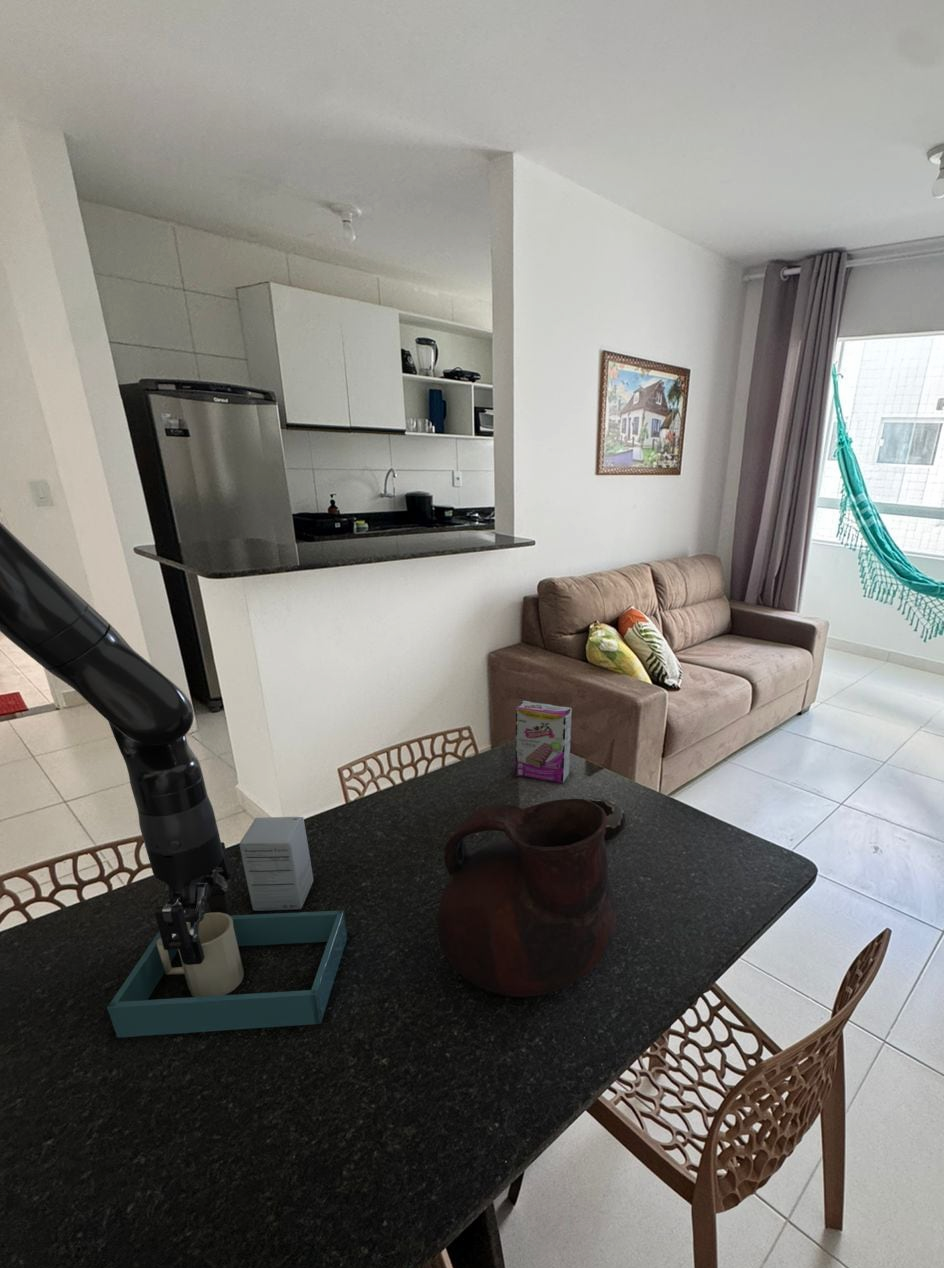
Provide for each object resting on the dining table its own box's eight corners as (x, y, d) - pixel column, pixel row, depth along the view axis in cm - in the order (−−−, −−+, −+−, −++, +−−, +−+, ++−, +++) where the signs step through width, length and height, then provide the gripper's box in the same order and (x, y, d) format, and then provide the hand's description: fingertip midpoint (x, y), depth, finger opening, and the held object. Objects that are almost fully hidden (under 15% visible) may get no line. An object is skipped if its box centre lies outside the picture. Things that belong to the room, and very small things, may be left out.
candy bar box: (514, 777, 144) (514, 708, 138) (522, 766, 149) (522, 699, 142) (563, 785, 142) (565, 715, 135) (570, 774, 147) (572, 706, 140)
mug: (250, 962, 92) (239, 911, 88) (233, 998, 86) (221, 945, 83) (179, 966, 91) (165, 914, 87) (157, 1003, 85) (141, 949, 81)
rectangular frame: (117, 1037, 80) (106, 1007, 78) (175, 945, 94) (167, 918, 92) (320, 1024, 83) (316, 994, 81) (347, 937, 98) (344, 910, 96)
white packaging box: (267, 882, 108) (255, 816, 103) (315, 880, 109) (305, 815, 104) (251, 912, 101) (237, 843, 96) (301, 910, 102) (290, 842, 97)
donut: (554, 818, 130) (554, 801, 128) (606, 806, 135) (608, 789, 133) (581, 850, 120) (581, 831, 119) (636, 835, 126) (637, 817, 124)
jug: (502, 881, 111) (501, 748, 101) (640, 932, 101) (653, 791, 91) (400, 981, 90) (385, 826, 80) (560, 1057, 81) (566, 892, 71)
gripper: (174, 803, 85) (200, 903, 92) (115, 870, 72) (150, 982, 79) (236, 801, 86) (258, 900, 93) (188, 867, 73) (217, 978, 80)
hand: (208, 938), depth 86 cm, fingers open, 8 cm apart
